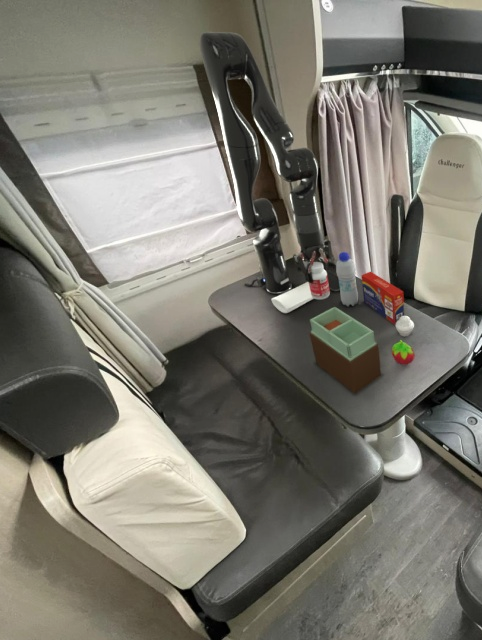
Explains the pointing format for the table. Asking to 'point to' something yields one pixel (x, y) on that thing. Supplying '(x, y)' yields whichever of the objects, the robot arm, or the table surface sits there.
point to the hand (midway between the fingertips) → (317, 277)
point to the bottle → (347, 279)
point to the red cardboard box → (383, 297)
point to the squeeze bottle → (293, 298)
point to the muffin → (404, 326)
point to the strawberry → (402, 353)
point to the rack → (345, 349)
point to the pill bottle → (319, 282)
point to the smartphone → (333, 282)
